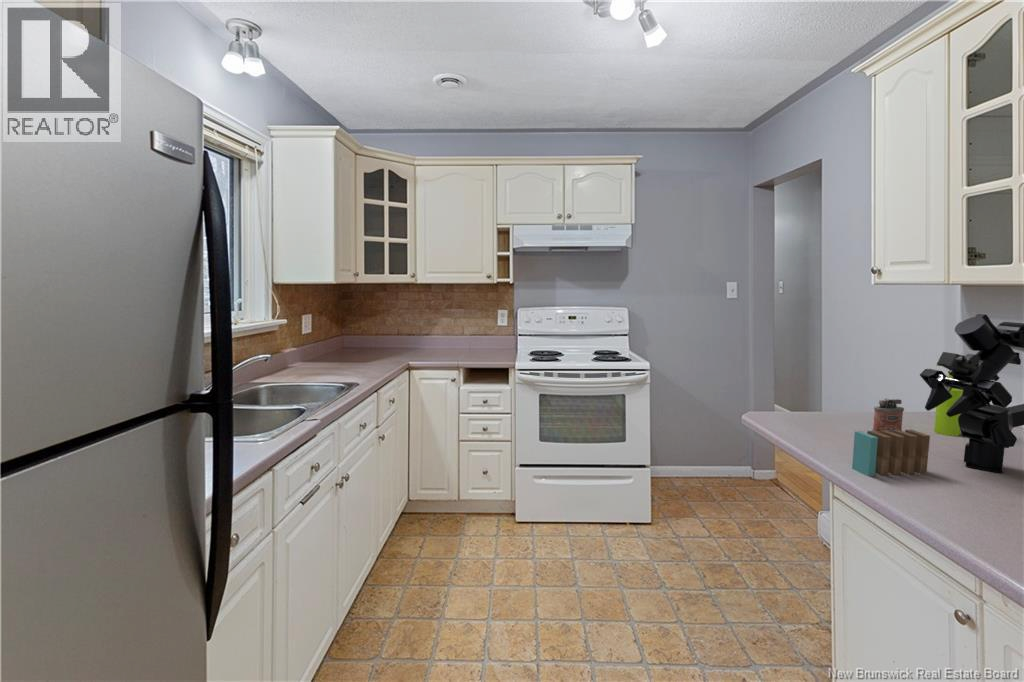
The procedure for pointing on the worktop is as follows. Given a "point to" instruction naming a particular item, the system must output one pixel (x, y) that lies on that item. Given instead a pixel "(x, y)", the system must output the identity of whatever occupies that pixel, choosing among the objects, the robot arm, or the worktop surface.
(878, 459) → the domino
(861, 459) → the domino
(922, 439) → the domino
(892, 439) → the domino
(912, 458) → the domino
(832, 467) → the worktop surface
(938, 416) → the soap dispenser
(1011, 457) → the worktop surface
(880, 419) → the red tin can
